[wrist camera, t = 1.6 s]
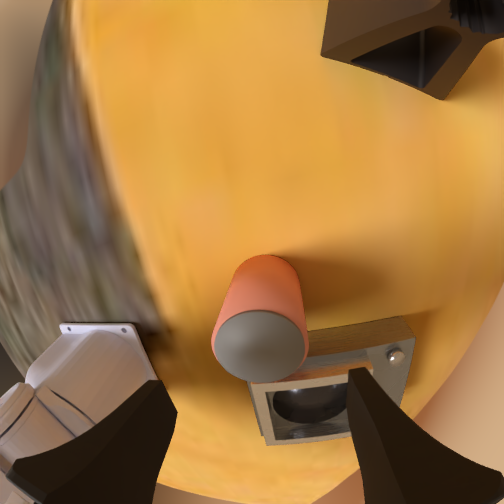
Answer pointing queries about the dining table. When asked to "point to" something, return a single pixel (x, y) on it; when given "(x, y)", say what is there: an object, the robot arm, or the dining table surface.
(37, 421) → the robot arm
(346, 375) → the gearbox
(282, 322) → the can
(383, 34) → the phone stand
